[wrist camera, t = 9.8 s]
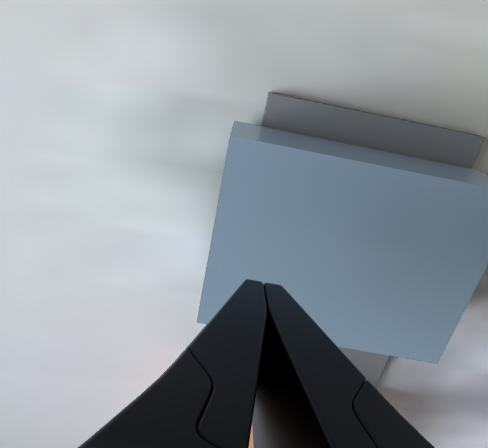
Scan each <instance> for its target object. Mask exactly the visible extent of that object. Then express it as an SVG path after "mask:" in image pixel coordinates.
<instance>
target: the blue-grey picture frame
mask: <svg viewBox="0 0 488 448" xmlns="http://www.w3.org/2000/svg"><path fill="white" fill-rule="evenodd" d="M487 265H488V175H486V174H484V173H482V172H480V171H478V170H476V169H471V168H466V167H461V166H456V165H451V164H446V163H441V162H436V161H431V160H426V159H421V158H416V157H411V156H406V155H401V154H396V153H391V152H386V151H382V150H377V149H372V148H367V147H362V146H357V145H352V144H347V143H342V142H337V141H332V140H327V139H322V138H317V137H312V136H307V135H302V134H297V133H292V132H288V131H283V130H278V129H273V128H268V127H263V126H258V125H253V124H248V123H243V122H238V121H234V124H233V127H232V131H231V135H230V140H229V145H228V151H227V156H226V162H225V167H224V173H223V179H222V184H221V190H220V195H219V201H218V206H217V212H216V218H215V223H214V229H213V234H212V240H211V245H210V251H209V257H208V262H207V268H206V273H205V279H204V284H203V290H202V296H201V301H200V307H199V312H198V318H197V322H198V323H204V324H208V322H209V321H210V320H211V319H212V318H213V317H214V315H215V314H216V313H217V312H218V311H219V310H220V309H221V307H222V306H223V305H224V304H225V303H226V302H227V300H228V299H229V298H230V297H231V296H232V295H233V293H234V292H235V291H236V290H237V289H238V288H239V286H240V285H241V284H242V283H243V282H244V281H245V280H246V279H250V280H256V281H261V282H262V283H263V284H264V283H272V284H278V285H281V286H283V287H284V288H285V290H286V291H287V292H288V293H289V294H290V295H291V296H292V297H293V298H294V299H295V301H296V302H297V303H298V304H299V305H300V306H301V307H302V308H303V309H304V310H305V312H306V313H307V314H308V315H309V316H310V317H311V318H312V319H313V320H314V321H315V323H316V324H317V325H318V326H319V327H320V328H321V329H322V330H323V331H324V332H325V334H326V335H327V336H328V337H329V338H330V339H331V340H332V341H333V342H334V343H335V345H336V346H337V347H343V348H349V349H355V350H360V351H366V352H372V353H378V354H384V355H389V356H395V357H401V358H407V359H413V360H418V361H424V362H430V363H436V364H438V362H439V360H440V358H441V356H442V354H443V352H444V350H445V348H446V346H447V344H448V342H449V340H450V338H451V336H452V334H453V332H454V330H455V328H456V326H457V324H458V322H459V320H460V318H461V316H462V314H463V312H464V310H465V308H466V306H467V304H468V302H469V300H470V298H471V296H472V295H473V293H474V291H475V289H476V287H477V285H478V283H479V281H480V279H481V277H482V275H483V273H484V271H485V269H486V267H487Z"/></svg>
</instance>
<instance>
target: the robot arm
mask: <svg viewBox="0 0 488 448" xmlns="http://www.w3.org/2000/svg"><path fill="white" fill-rule="evenodd" d="M251 426H252V428H253V447H254V448H435V447H434V446H432V445H431V444H430V443H429V442H428V441H427V440H426V439H425V438H424V437H423V436H422V435H421V434H420V433H419V432H418V431H417V430H416V429H415V428H414V427H413V426H412V425H411V424H410V423H408V422H407V421H406V420H405V419H404V418H403V417H402V416H401V415H400V414H399V413H398V412H397V411H396V410H395V408H394V407H393V406H392V405H391V404H390V403H389V402H388V401H387V400H386V399H385V398H384V397H383V396H382V395H381V394H380V393H379V392H378V390H377V389H376V388H375V387H374V386H373V385H372V384H371V383H370V382H369V381H368V380H366V378H365V376H364V375H363V374H362V373H361V372H360V371H359V370H358V369H357V368H356V366H355V365H354V364H353V363H352V362H351V361H350V360H349V359H348V358H347V357H346V355H345V354H344V353H343V352H342V351H341V350H340V349H339V348H338V347H337V346H336V345H335V343H334V342H333V341H332V340H331V339H330V338H329V337H328V336H327V335H326V334H325V332H324V331H323V330H322V329H321V328H320V327H319V326H318V325H317V324H316V323H315V321H314V320H313V319H312V318H311V317H310V316H309V315H308V314H307V313H306V312H305V310H304V309H303V308H302V307H301V306H300V305H299V304H298V303H297V302H296V301H295V299H294V298H293V297H292V296H291V295H290V294H289V293H288V292H287V291H286V290H285V288H284V287H283V286H281V285H278V284H272V283H264V284H263V283H262V282H261V281H256V280H250V279H246V280H245V281H244V282H243V283H242V284H241V285H240V286H239V288H238V289H237V290H236V291H235V292H234V293H233V295H232V296H231V297H230V298H229V299H228V300H227V302H226V303H225V304H224V305H223V306H222V307H221V309H220V310H219V311H218V312H217V313H216V314H215V315H214V317H213V318H212V319H211V320H210V321H209V322H208V324H207V325H206V326H205V327H204V328H203V329H202V331H201V332H200V333H199V334H198V335H197V336H196V338H195V339H194V340H193V341H192V342H191V343H190V345H189V346H188V347H187V348H186V350H184V351H183V352H182V354H181V355H180V356H179V357H178V358H177V359H176V361H175V362H174V363H173V364H172V365H171V366H170V367H169V368H168V369H167V370H166V371H165V372H164V373H163V374H162V375H161V377H159V378H158V379H157V380H156V381H155V382H154V383H153V384H152V385H151V386H150V387H148V388H147V389H146V390H145V391H144V392H143V393H142V394H141V395H140V396H138V397H137V398H136V399H135V400H134V401H133V402H131V403H130V404H129V405H128V406H127V407H125V408H124V409H123V410H122V411H121V412H120V413H118V414H117V415H116V416H115V417H114V418H113V419H111V420H110V421H109V422H108V423H107V424H106V425H104V426H103V427H102V428H101V429H100V430H99V431H97V432H96V433H95V434H94V435H93V436H91V437H90V438H89V439H88V440H87V441H85V442H84V443H83V444H82V445H81V446H79V447H78V448H249V440H250V433H251Z"/></svg>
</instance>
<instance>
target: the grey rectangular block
mask: <svg viewBox="0 0 488 448" xmlns="http://www.w3.org/2000/svg"><path fill="white" fill-rule="evenodd" d="M262 126H263V127H268V128H273V129H278V130H283V131H288V132H292V133H297V134H302V135H307V136H312V137H317V138H322V139H327V140H332V141H337V142H342V143H347V144H352V145H357V146H362V147H367V148H372V149H377V150H382V151H386V152H391V153H396V154H401V155H406V156H411V157H416V158H421V159H426V160H431V161H436V162H441V163H446V164H451V165H456V166H461V167H466V168H472V166H473V164H474V161H475V159H476V157H477V155H478V152H479V150H480V148H481V145H482V143H483V141H484V139H485V138H484V137H481V136H478V135H474V134H469V133H464V132H459V131H454V130H450V129H445V128H440V127H435V126H430V125H425V124H421V123H416V122H411V121H406V120H401V119H396V118H392V117H387V116H382V115H377V114H372V113H367V112H363V111H358V110H353V109H348V108H343V107H339V106H334V105H329V104H324V103H319V102H314V101H310V100H305V99H300V98H295V97H290V96H285V95H281V94H276V93H271V92H269V93H268V98H267V103H266V108H265V113H264V117H263V122H262ZM338 348H339V349H340V350H341V351H342V352H343V353H344V354H345V355H346V357H347V358H348V359H349V360H350V361H351V362H352V363H353V364H354V365H355V366H356V368H357V369H358V370H359V371H360V372H361V373H362V374H363V375H364V376H365V378H366V380H368V381H369V382H370V383H371V384H372V385H373V386H374V387H376V385H377V383H378V380H379V378H380V376H381V373H382V371H383V369H384V367H385V364H386V362H387V360H388V357H389V355H384V354H378V353H372V352H366V351H360V350H355V349H349V348H343V347H338Z"/></svg>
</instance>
